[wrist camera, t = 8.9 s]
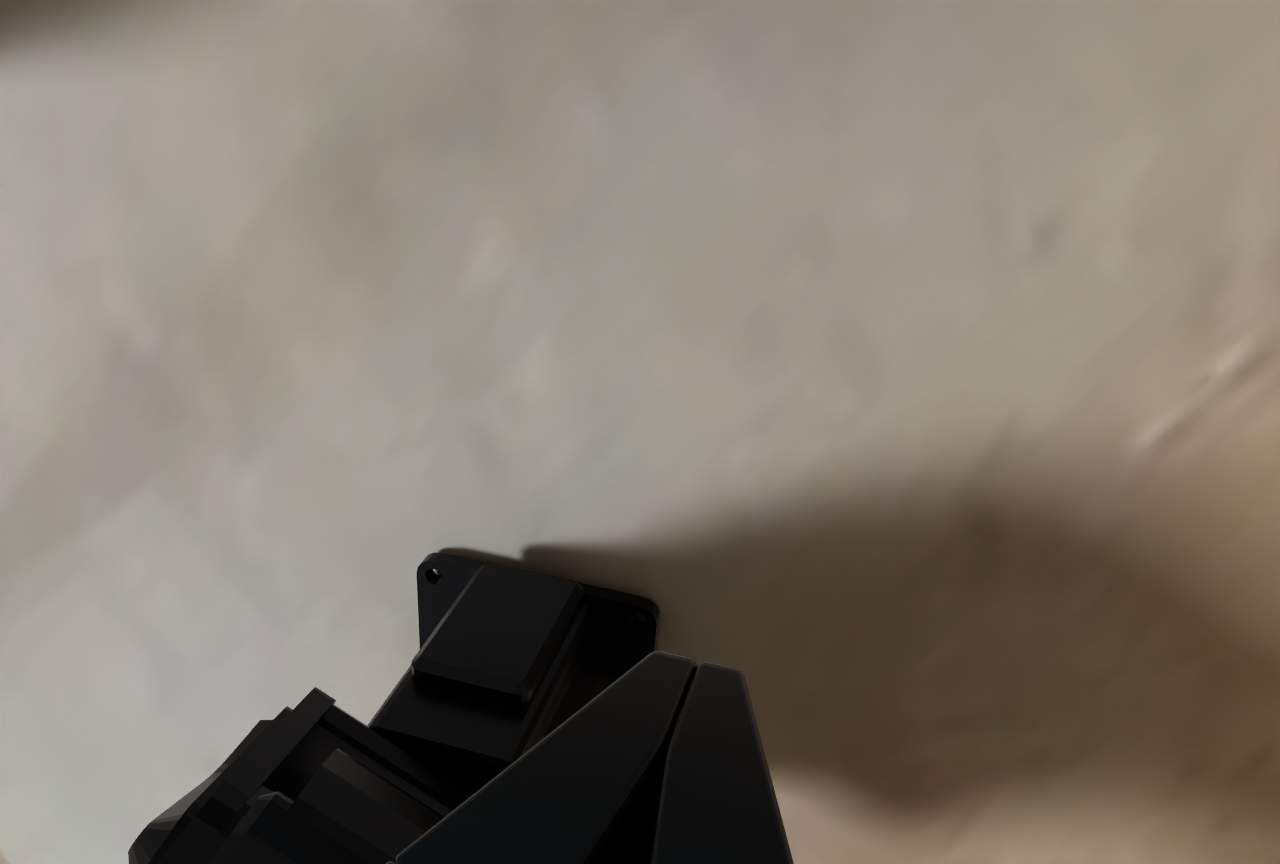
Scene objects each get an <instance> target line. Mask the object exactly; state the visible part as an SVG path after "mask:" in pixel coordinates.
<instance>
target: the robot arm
mask: <svg viewBox="0 0 1280 864" xmlns="http://www.w3.org/2000/svg"><path fill="white" fill-rule="evenodd" d="M433 569H436V570H438V571H439V572H440V573H441V574H442V576H443V577H441V576H439V575H437V574H436V573H435V572H434V571H433ZM417 590H418V613H419V636H420V650H419V652H418V653H417V654H416V656H415V657H414V659H413V661H412V664H411V666H410V667H409V669H408V670H407V671H406V673H405V674H404V676H403V677H402V678H401V680H400V681H399V682H398V684H397V685H396V687H395V688H394V689H393V691H392V692H391V694H390V695H389V696H388V698H387V699H386V701H385V702H384V703H383V705H382V706H381V708H380V709H379V710H378V712H377V713H376V714H375V716H374V717H373V719H372V720H371V721H370V723H369V724H368V726H366V725H365V724H363V723H362V722H360V721H359V720H357V719H355V718H354V717H352V716H351V715H349V714H348V713H346V712H345V711H343V710H342V709H340V708H338V707H337V706H335V705H334V703H335V702H336V700H335V699H333V698H331V697H330V696H328V695H327V694H325V693H324V692H322V691H321V690H319V689H318V688H316V687H315V688H314V689H313V690H312V691H311V692H310V693H309V694H308V695H307V696H306V697H305V698H304V699H303V700H302V701H301V702H300V703H299V704H298V705H297V706H296V708H295V709H294V710H292V709H291V708H289V707H286V708H285V709H284V710H283V711H282V712H281V713H280V714H279V715H278V716H277V717H276V718H275V719H274V720H260V721H259V722H258V724H257V725H256V726H255V727H254V728H253V729H252V731H251V732H250V733H249V734H248V735H247V736H246V738H245V739H244V740H243V741H242V742H241V743H240V744H239V746H238V747H237V748H236V749H235V750H234V751H233V753H232V754H231V755H230V756H229V757H228V758H227V759H226V760H225V762H224V763H223V764H222V765H221V766H220V767H219V768H218V769H217V770H216V771H215V772H214V773H213V774H212V775H211V776H210V777H209V778H207V779H206V780H205V781H204V782H202V783H201V784H200V785H199V786H197V787H196V788H195V789H193V790H192V791H191V792H189V793H188V794H187V795H186V796H184V797H183V798H182V799H180V800H179V801H178V802H176V803H175V804H174V805H172V806H171V807H170V808H169V809H167V810H166V811H165V812H163V813H162V814H161V815H159V816H158V817H157V818H155V819H154V820H153V821H152V822H150V823H149V824H148V825H147V827H146V828H145V829H144V830H143V831H142V832H141V834H140V835H139V836H138V837H137V839H136V840H135V842H134V843H133V844H132V846H131V848H130V849H129V852H128V856H129V864H794V863H793V859H792V855H791V852H790V848H789V844H788V840H787V836H786V833H785V829H784V825H783V821H782V817H781V814H780V810H779V806H778V802H777V798H776V795H775V791H774V787H773V783H772V779H771V776H770V772H769V768H768V764H767V760H766V757H765V753H764V749H763V745H762V741H761V738H760V734H759V730H758V726H757V722H756V719H755V715H754V711H753V707H752V703H751V700H750V696H749V692H748V688H747V684H746V680H745V677H744V675H743V673H742V671H740V670H739V669H737V668H734V667H729V666H725V665H721V664H716V663H712V662H707V661H703V662H701V663H700V664H699V665H698V666H697V665H696V662H695V661H694V660H693V659H692V658H690V657H685V656H681V655H677V654H672V653H668V652H663V651H657V647H658V636H659V626H660V610H659V609H658V607H657V605H656V604H655V603H654V602H652V601H651V600H650V599H647V598H645V597H642V596H637V595H633V594H628V593H623V592H619V591H614V590H610V589H605V588H600V587H596V586H591V585H586V584H582V583H577V582H574V581H570V580H565V579H561V578H556V577H552V576H547V575H542V574H538V573H533V572H528V571H524V570H519V569H515V568H510V567H505V566H501V565H496V564H491V563H485V562H480V561H475V560H471V559H466V558H462V557H457V556H452V555H448V554H443V553H432V554H429V555H428V556H427V557H426V558H425V559H424V561H423V562H422V563H421V564H420V565H419V567H418V569H417ZM632 614H640V615H642V616H643V617H644V618H645V619H646V621H640V620H638V619H636V618H635V617H634V616H633V615H632Z"/></svg>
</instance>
